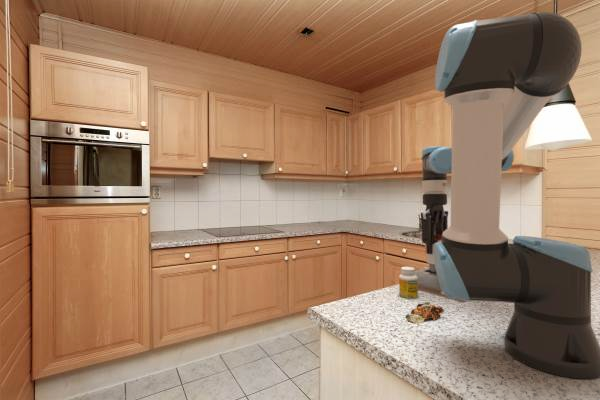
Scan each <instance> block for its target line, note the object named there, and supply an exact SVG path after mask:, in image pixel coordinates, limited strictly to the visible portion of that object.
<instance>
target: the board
mask: <svg viewBox="0 0 600 400" xmlns="http://www.w3.org/2000/svg"><path fill="white" fill-rule="evenodd" d="M418 291H419V292H420V291H421V292H424V293H427V294H430V295H431V294H432V295H435V296H438V297H442V298H446V299H448V300H451V301H455V302H459V303H466V302H467V301H465V300H461V299H452V298H449V297H447V296H446V295H443V294H441V293H440V292H436V291H432V290H429V289H425V288H421V287H418Z"/></svg>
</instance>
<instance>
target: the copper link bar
mask: <svg viewBox="0 0 600 400" xmlns="http://www.w3.org/2000/svg"><path fill="white" fill-rule="evenodd" d="M419 238H421V239H422V232H420V233H419ZM437 242H442V234H436V233H435V237H434V244H435V243H437ZM424 251H425V252H424V254H426V255H427V245H426V244H424ZM428 267H429V273H434V274H437V273H436V268H435V264H430V263H428Z"/></svg>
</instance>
